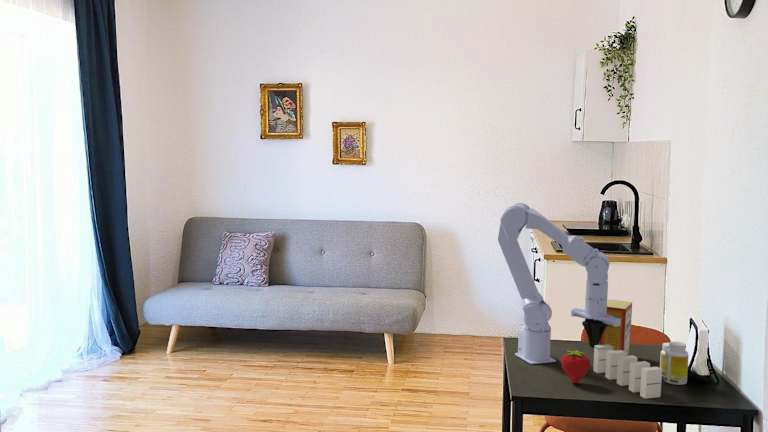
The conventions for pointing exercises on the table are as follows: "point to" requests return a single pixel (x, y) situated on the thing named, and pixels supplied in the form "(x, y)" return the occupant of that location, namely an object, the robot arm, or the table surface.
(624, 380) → the domino
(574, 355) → the strawberry
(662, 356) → the supplement bottle
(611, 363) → the domino
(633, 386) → the domino
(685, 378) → the supplement bottle
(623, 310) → the baking soda box
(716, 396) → the table surface
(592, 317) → the robot arm
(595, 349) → the domino head
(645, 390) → the domino
